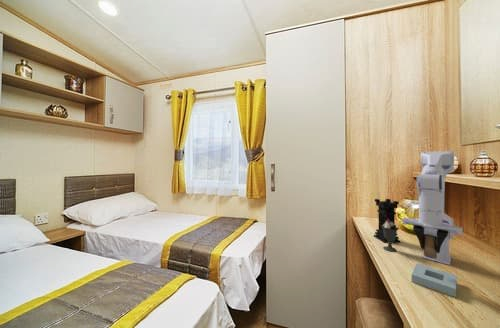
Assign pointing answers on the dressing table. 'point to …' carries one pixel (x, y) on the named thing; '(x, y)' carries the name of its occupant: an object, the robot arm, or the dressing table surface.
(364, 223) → the dressing table surface
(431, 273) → the socket block
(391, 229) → the sundae
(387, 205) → the chess piece
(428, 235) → the peg
